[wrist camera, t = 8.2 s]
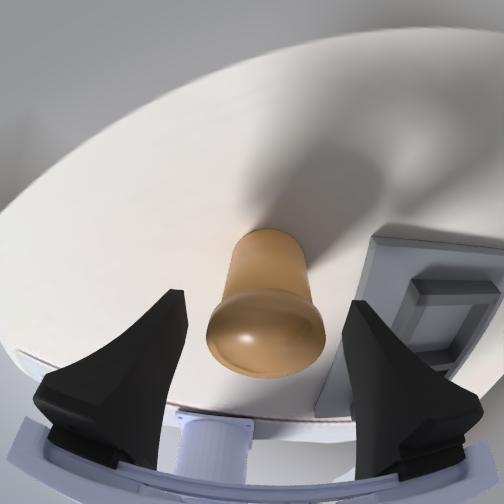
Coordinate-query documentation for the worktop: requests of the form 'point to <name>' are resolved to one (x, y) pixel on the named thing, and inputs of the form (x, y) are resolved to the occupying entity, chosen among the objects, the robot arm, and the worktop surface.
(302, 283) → the jaw peg
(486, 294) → the housing
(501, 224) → the worktop surface
